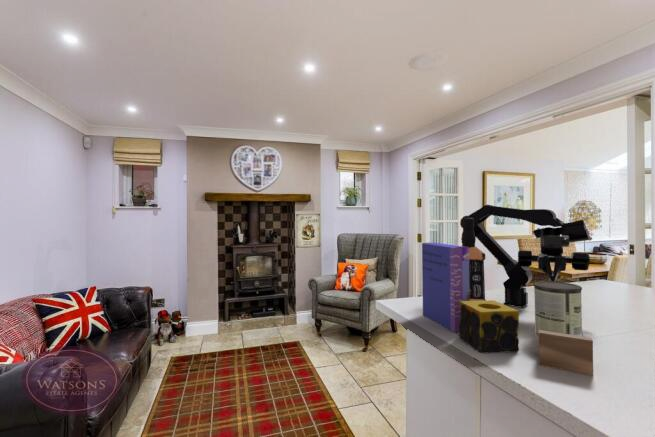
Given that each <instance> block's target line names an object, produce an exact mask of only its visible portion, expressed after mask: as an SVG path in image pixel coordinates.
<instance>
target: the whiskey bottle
mask: <svg viewBox="0 0 655 437" xmlns="http://www.w3.org/2000/svg"><path fill="white" fill-rule="evenodd" d="M462 218H463V217H462ZM462 223H463V228H462V234H461V239H460V240H461V246H464V247H469V294H470V301H487V299H486V293H485V292H486V287H485V284H486V283H485V262H484V261H485V260H486V253H485V252H483V251H482V250H481V249H479V248H478V247H477V246H476V241H477V240H476V239H477V238H476V237H475V233H474V219H473V218H463V222H462Z"/></svg>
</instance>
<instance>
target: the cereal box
mask: <svg viewBox="0 0 655 437" xmlns="http://www.w3.org/2000/svg"><path fill="white" fill-rule="evenodd" d="M421 256H422V257H421V259H422V260H421V262H422V264H421V266H422V267H421V269H422V270H421V272H422V273H421V274H422V277H421V278H422V280H421V281H422V315H423V316H424V318H427V319H429V320H431V321H432V322H434V323H436V324H438V325H439V326H441V327H443V328H444V329H446V330H448V331H450V332H451V333H453V334H459V323H460V318H461V313H460V305H459V303H460V301H470V294H469V247H464V246H462V245H455V244H454V245H453V244H447V243H438V242H423V243H421Z"/></svg>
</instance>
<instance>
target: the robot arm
mask: <svg viewBox="0 0 655 437" xmlns="http://www.w3.org/2000/svg"><path fill="white" fill-rule="evenodd" d="M491 216H495V217H502V218H509V219H515V220H522V221H525V222H529V223H531V224H534V225H537V226H541V227H542V228H539V227H538V228H537V229H534V230H533V231H532V233H533V235H534V236H535V238H536V239H539V241H540V242H539V243H540V244H539V245H540V253H538V255H533V250H522V249H521V250H518V252H517V260H515V259H514V258H513V257H512V256H511V255H510V254H509V252H507V251H506V250H505V248H503V246H501V244H499V243H498V242H497V240H496V239H494V237H493V236H492V235H490V234H489V232H488V231H487V229H486V227H485V226H484V222H485V221H486V220H487V219H488V218H489V217H491ZM463 218H473V219H474V233H475V238H476V239H477V240H478V241H479V242H480V243H481V244H482V245H483V247H485V248H486V250H488V251H489V253H490V254H491V255H492V256H493V257H494V258H495V259H496V260H497V262H499V263H500V265H501V267H503V269H504V271H505V274H506V275H507V277H508V279H506V280H505V281H504V282H502V284H503V286H504V302H503V303H502V304H504V305H506V306H509V307H518V308H525V307H526V306H527V305H528V304H529V293H528V292H527V288H526V286H527V284H528V283H530V282H531V281H532V279H533V272H532V271H531V270H532V268H531V266H533V265H532V263H537V264H538V265H537V266H538V267H537V269H539V270H541V271H543V273H545V275H546V277H547V278H548V279H549V281H552V282H556V280H557V279H558V276H559V275H560V273H561V272H565V271H566V270H567V269H566V268H567V264H571V268H572V269H573V270H574V271H588V270H589V266H590V261H591V256H590V254H589V253H587V252H572V255H570V256H568V255H563V254H564V248H565V247H567V248H568V247H570V244H571V243H577V242H578V243H579V242H585V241H590V240H591V239H590V238H591V237H590V233H589V229H588V228H587V226H586V223H585V220H584V219H578V220H576V221H571V222H564V221H563V220H561V219H559V218H558V217H557V215H556V212H555V211H553V210H552V209H551V210H550V209H548V208H546V209H545V208H544V209H543V208H540V209H539V208H538V209H537V208H536V209H521V208H515V207H514V208H512V207H504V206H497V205H493V204H485V205H483V206H482V207H481V208H479V209H477V210H476V211H473V212H472V213H470V214H468V215H465V216H463V217H461V219H460V227H461V228H462V229H463V223H462V222H463ZM547 226H548V227H547ZM551 264H554V266H553V271H552V266H551Z"/></svg>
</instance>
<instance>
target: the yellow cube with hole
mask: <svg viewBox="0 0 655 437" xmlns="http://www.w3.org/2000/svg"><path fill="white" fill-rule="evenodd" d="M459 305H460V313H461V318H460V323H459V333H458V338H459V339H460V340H462V341H463V342H464V343H466V344H467V345H469V347H471V348H472V349H474V350H475V351H476V352H478V353H480V354H489V353H490V354H492V353H509V352H515V353H516V352H519V351H520V349H519V344H520V341H519V340H520V339H519V325H520V324H519V323H520V322H519V321H520V316H519V310H517V309H515V308H513V307H512V306H509V305H504V304H503V303H500V302H499V301H496V300H494V299H493V300H491V299H490V300H486V301H460V303H459Z"/></svg>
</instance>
